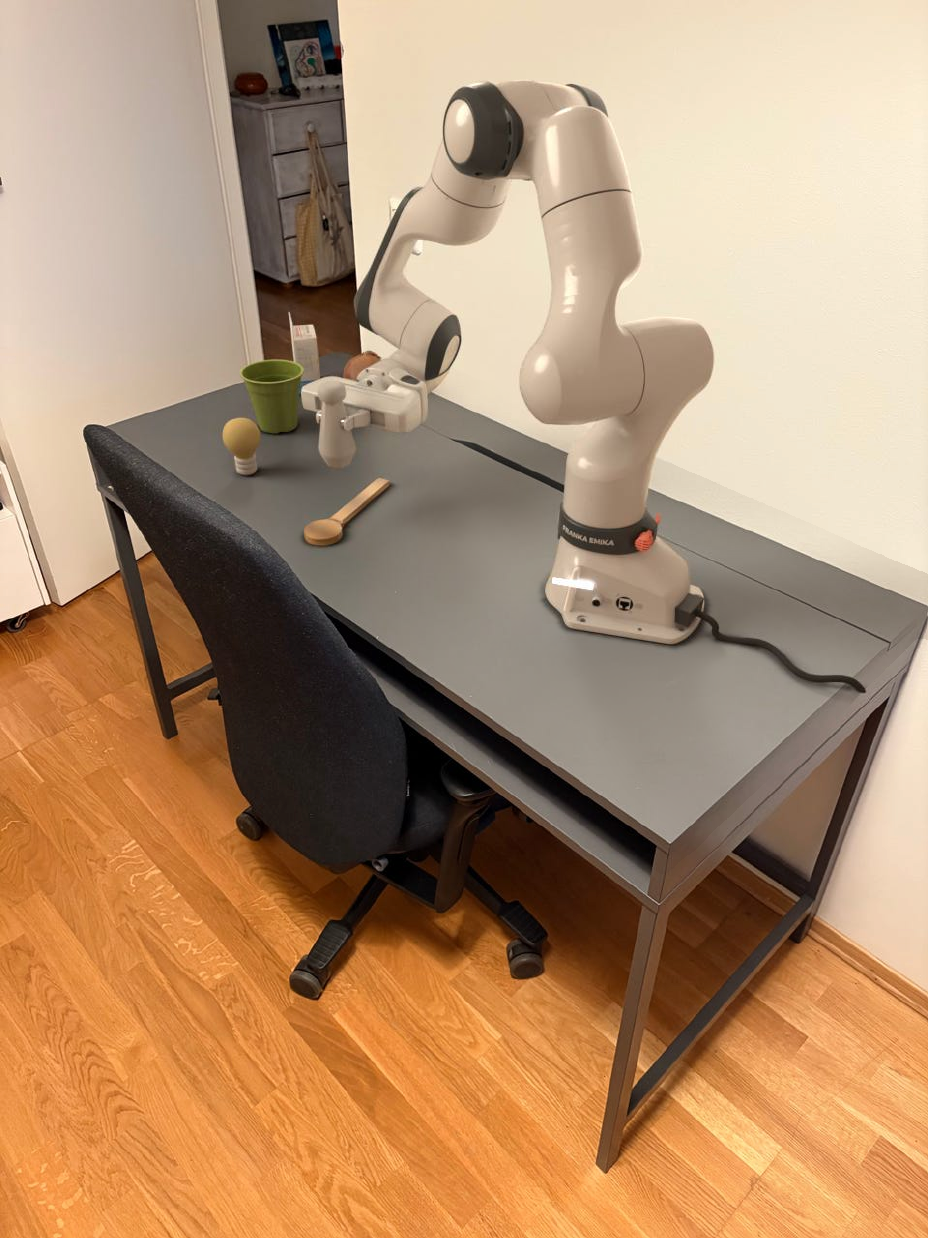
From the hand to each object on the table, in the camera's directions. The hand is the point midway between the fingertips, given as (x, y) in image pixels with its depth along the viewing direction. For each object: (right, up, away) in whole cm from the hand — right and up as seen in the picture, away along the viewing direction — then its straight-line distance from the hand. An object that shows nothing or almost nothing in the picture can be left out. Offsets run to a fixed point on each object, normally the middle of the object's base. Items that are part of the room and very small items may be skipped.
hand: (331, 422), depth 139 cm
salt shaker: (0, -5, +5) cm, 7 cm away
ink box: (-13, +19, +53) cm, 58 cm away
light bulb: (-18, -4, +23) cm, 29 cm away
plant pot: (-16, +7, +38) cm, 41 cm away
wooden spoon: (+2, -12, +11) cm, 17 cm away
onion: (0, +16, +49) cm, 52 cm away
